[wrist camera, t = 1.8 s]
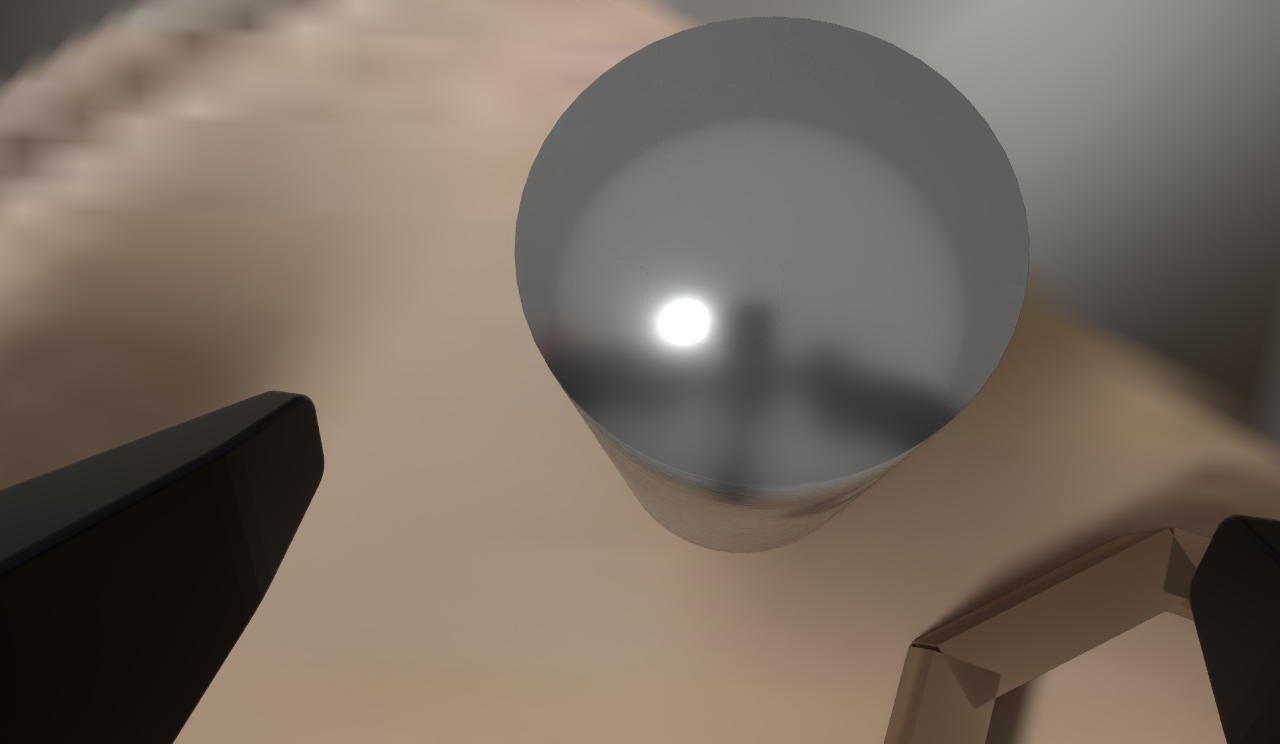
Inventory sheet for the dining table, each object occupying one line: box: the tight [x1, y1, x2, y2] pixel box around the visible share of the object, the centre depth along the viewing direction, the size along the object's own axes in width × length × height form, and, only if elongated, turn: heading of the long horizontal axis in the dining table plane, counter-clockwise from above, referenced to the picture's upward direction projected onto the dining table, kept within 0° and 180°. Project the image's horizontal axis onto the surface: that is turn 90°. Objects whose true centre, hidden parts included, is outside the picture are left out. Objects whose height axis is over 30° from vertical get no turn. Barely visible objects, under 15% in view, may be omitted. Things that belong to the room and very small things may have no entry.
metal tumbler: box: [515, 17, 1029, 553], centre depth 14 cm, size 6×6×10 cm
